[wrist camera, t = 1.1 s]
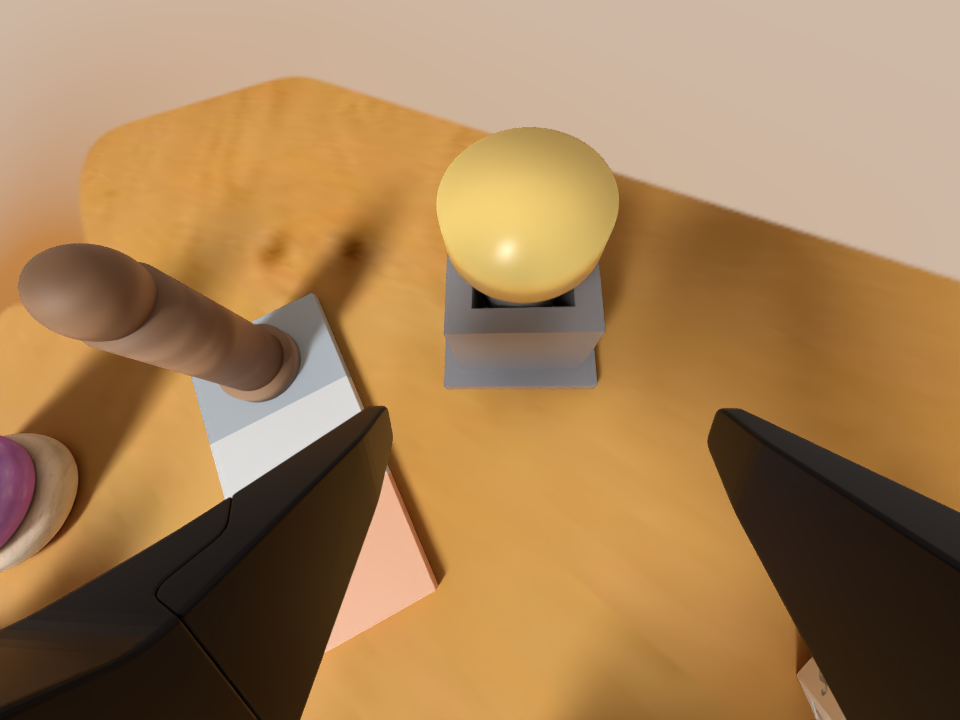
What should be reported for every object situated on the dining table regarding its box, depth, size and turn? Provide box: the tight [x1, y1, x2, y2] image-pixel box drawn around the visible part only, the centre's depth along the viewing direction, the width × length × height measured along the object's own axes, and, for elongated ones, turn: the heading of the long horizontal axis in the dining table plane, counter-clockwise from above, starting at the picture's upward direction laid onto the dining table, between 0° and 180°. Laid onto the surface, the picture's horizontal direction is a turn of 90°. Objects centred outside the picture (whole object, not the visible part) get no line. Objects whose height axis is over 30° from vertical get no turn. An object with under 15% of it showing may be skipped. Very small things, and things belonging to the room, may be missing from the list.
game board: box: [191, 293, 438, 653], centre depth 22 cm, size 20×9×1 cm, turn 27°
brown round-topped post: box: [18, 244, 301, 403], centre depth 18 cm, size 5×5×12 cm
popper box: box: [444, 253, 605, 389], centre depth 20 cm, size 9×9×7 cm
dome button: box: [437, 127, 619, 308], centre depth 16 cm, size 6×6×7 cm
